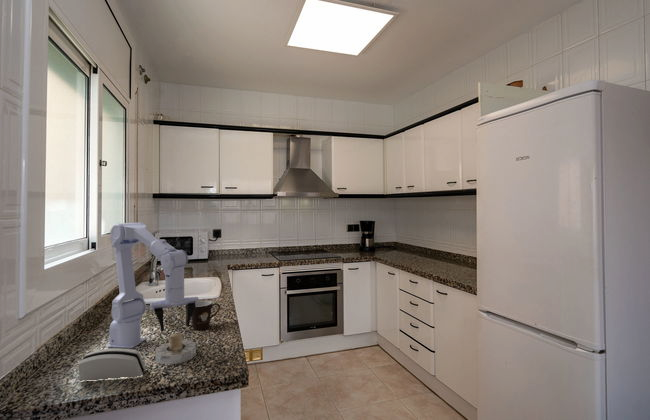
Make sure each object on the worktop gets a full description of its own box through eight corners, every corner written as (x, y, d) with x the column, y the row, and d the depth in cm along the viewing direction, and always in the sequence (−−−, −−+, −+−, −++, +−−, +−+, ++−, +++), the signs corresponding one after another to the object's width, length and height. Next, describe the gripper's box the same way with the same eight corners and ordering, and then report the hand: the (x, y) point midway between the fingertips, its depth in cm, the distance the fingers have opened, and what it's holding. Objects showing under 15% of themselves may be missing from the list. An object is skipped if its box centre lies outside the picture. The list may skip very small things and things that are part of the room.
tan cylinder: (166, 359, 106) (166, 337, 106) (173, 353, 110) (173, 333, 110) (178, 359, 106) (178, 338, 106) (185, 354, 110) (184, 333, 110)
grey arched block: (148, 369, 99) (143, 343, 96) (142, 382, 95) (137, 355, 92) (89, 373, 97) (82, 346, 94) (80, 387, 93) (72, 359, 89)
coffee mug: (188, 332, 129) (188, 307, 129) (191, 325, 137) (191, 301, 137) (219, 329, 132) (219, 304, 132) (220, 322, 140) (220, 299, 140)
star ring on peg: (147, 364, 103) (147, 354, 103) (169, 348, 115) (169, 339, 115) (183, 366, 102) (183, 356, 101) (202, 349, 113) (202, 340, 113)
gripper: (151, 292, 101) (151, 336, 101) (200, 286, 109) (200, 327, 109) (149, 288, 107) (149, 329, 107) (196, 282, 115) (196, 321, 115)
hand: (175, 328), depth 108 cm, fingers open, 7 cm apart
